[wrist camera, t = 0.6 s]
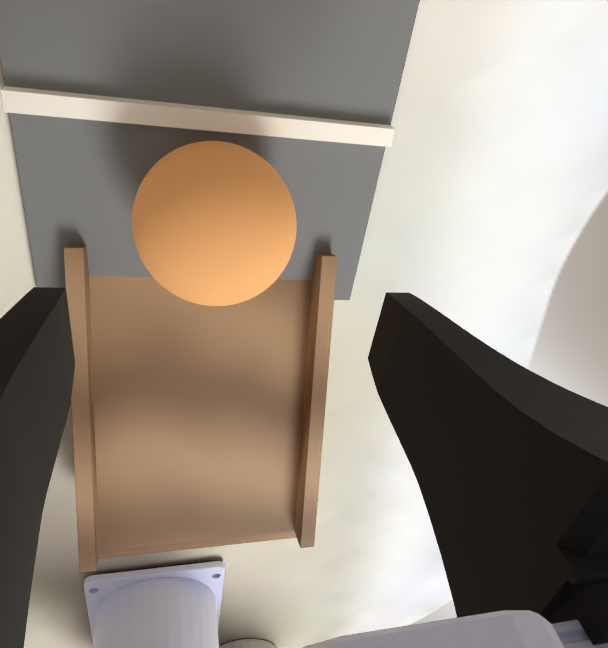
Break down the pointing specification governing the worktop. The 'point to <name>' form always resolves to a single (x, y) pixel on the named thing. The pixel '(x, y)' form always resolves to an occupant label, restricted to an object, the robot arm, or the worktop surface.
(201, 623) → the robot arm
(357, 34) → the mat
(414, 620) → the worktop surface
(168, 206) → the ball
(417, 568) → the worktop surface
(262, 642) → the coffee cup
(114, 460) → the ramp
